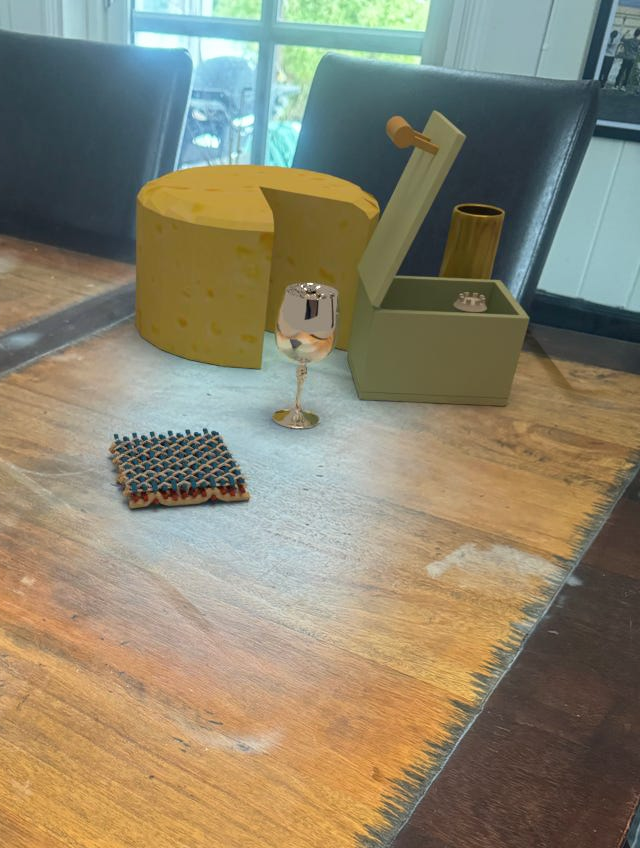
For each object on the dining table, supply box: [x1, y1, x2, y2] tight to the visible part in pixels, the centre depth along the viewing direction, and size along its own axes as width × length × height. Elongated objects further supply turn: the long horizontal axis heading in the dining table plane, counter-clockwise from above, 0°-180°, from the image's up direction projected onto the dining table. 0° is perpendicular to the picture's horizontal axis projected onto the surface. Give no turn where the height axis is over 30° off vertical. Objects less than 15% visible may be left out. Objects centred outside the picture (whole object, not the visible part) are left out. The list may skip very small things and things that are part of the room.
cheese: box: [134, 164, 381, 370], centre depth 105 cm, size 26×26×15 cm
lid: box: [357, 109, 467, 307], centre depth 88 cm, size 15×12×5 cm
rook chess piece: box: [453, 292, 487, 314], centre depth 95 cm, size 4×4×8 cm
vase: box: [438, 203, 506, 280], centre depth 103 cm, size 6×6×14 cm
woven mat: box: [107, 427, 251, 509], centre depth 79 cm, size 10×11×2 cm
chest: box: [346, 274, 530, 407], centre depth 96 cm, size 15×12×9 cm
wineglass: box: [272, 283, 340, 430], centre depth 86 cm, size 6×6×12 cm
